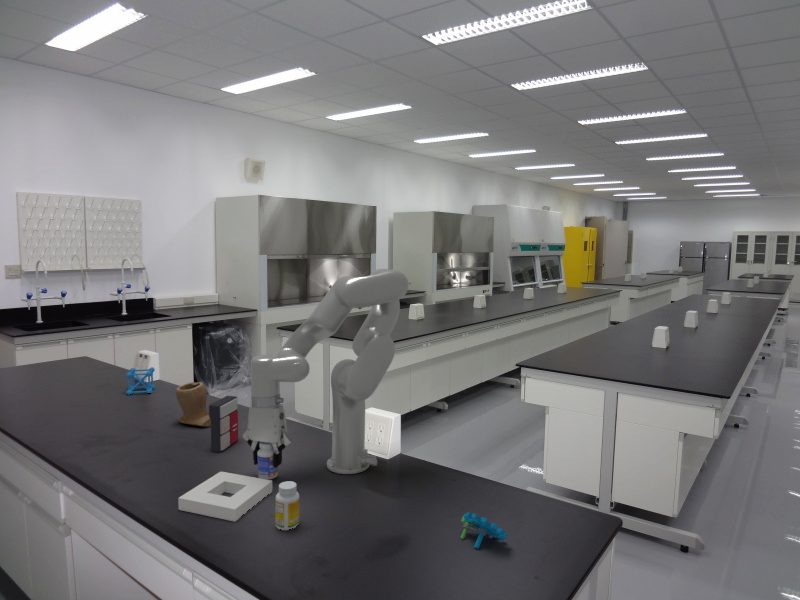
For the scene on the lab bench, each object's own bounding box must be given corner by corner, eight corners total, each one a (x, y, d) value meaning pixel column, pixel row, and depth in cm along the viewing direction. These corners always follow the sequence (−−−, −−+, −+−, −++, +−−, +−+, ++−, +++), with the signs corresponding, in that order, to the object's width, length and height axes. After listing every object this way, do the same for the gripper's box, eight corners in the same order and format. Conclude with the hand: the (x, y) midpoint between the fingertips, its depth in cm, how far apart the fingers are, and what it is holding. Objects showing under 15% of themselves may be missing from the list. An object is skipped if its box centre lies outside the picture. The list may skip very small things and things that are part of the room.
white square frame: (272, 491, 134) (272, 480, 134) (235, 521, 119) (234, 509, 119) (220, 482, 139) (220, 471, 139) (178, 509, 124) (178, 497, 124)
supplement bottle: (273, 531, 115) (273, 490, 115) (277, 519, 121) (277, 479, 120) (298, 530, 116) (298, 489, 115) (300, 518, 121) (300, 479, 120)
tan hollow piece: (168, 425, 182) (168, 384, 181) (195, 416, 193) (194, 377, 192) (200, 432, 176) (199, 390, 175) (225, 422, 187) (225, 382, 185)
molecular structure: (130, 389, 227) (130, 367, 226) (155, 388, 230) (155, 366, 229) (126, 396, 217) (125, 372, 216) (152, 394, 220) (151, 371, 219)
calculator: (221, 453, 159) (221, 406, 157) (209, 451, 160) (208, 404, 158) (239, 440, 170) (239, 396, 168) (227, 439, 170) (227, 395, 169)
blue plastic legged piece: (516, 538, 112) (493, 516, 107) (506, 565, 109) (482, 544, 104) (477, 524, 120) (454, 504, 115) (466, 549, 117) (443, 529, 113)
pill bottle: (272, 481, 139) (271, 446, 138) (254, 479, 140) (253, 445, 139) (281, 472, 144) (280, 439, 143) (263, 470, 145) (262, 437, 144)
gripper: (300, 399, 141) (302, 462, 143) (246, 394, 146) (249, 455, 148) (286, 407, 134) (288, 474, 136) (230, 401, 139) (233, 465, 141)
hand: (267, 463), depth 142 cm, fingers closed on pill bottle, 5 cm apart
